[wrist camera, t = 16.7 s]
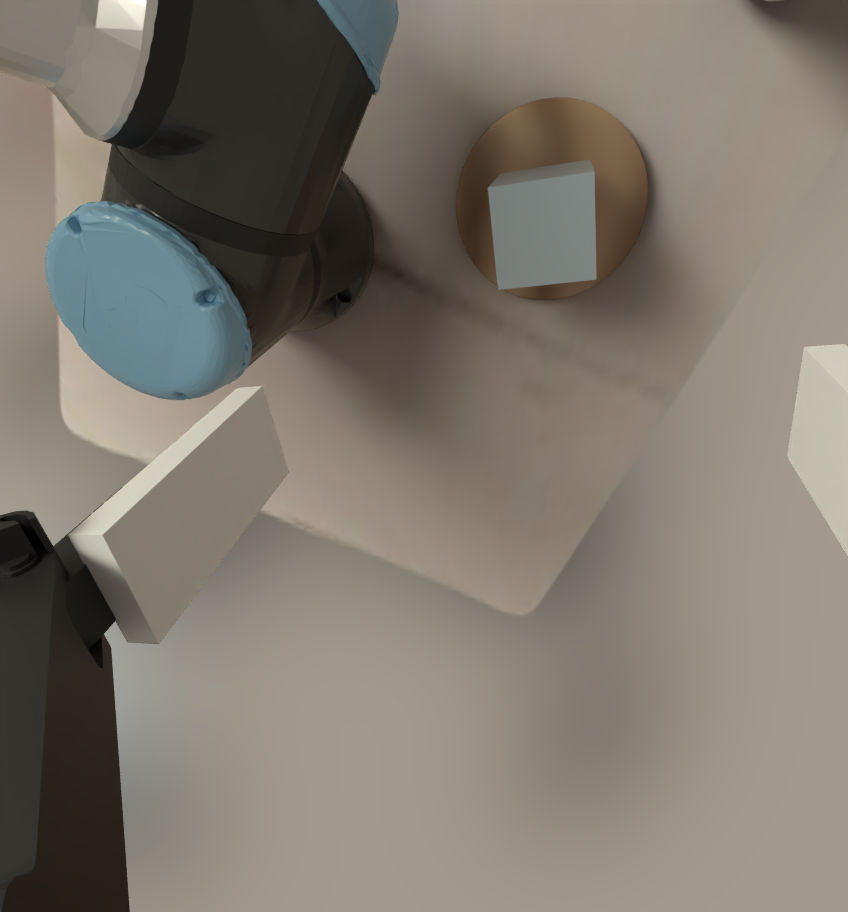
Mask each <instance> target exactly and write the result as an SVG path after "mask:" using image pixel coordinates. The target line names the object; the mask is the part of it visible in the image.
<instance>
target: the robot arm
mask: <svg viewBox="0 0 848 912" xmlns="http://www.w3.org/2000/svg"><path fill="white" fill-rule="evenodd" d="M397 22H398V7H397V1H396V0H0V73H4V74H6V75H10V76H13V77H16V78H19V79H23V80H26V81H29V82H32V83H35V84H38V85H42V86H45V87H46V88H47V89H48V90H49V91H51V92H52V93H53V94H54V95H55V96H56V97H57V99H58V100H59V101H60V102H61V104H62V105H63V106H64V108H65V109H66V110H67V112H68V113H69V114H70V116H71V117H72V118H73V120H74V121H75V122H76V124H77V125H78V126H79V128H80V129H81V130H82V131H83V132H84V134H85V135H87V136H89V137H92V138H94V139H96V140H99V141H103V142H107V143H111V144H112V146H111V152H110V157H109V163H108V168H107V173H106V178H105V183H104V189H103V194H102V198H101V201H100V202H90V203H87V204H84V205H82V206H79V207H78V208H77V209H76V210H75V211H74V212H72V213H71V214H70V215H69V216H68V217H66V218H65V219H63V220H62V221H61V222H60V223H59V224H58V226H57V227H56V228H55V230H54V232H53V234H52V236H51V238H50V240H49V243H48V246H47V251H46V258H45V267H46V278H47V283H48V287H49V291H50V295H51V298H52V300H53V303H54V305H55V308H56V310H57V312H58V314H59V316H60V318H61V320H62V322H63V323H64V325H65V326H66V327H67V328H68V329H69V330H70V331H71V332H72V333H73V335H74V336H75V338H76V340H77V342H78V344H79V346H80V347H81V348H82V349H83V351H84V352H85V353H86V354H87V355H88V356H89V357H90V358H91V359H92V360H93V361H94V362H95V363H96V364H97V365H99V366H100V367H101V368H102V369H103V370H105V371H106V372H107V373H108V374H110V375H111V376H113V377H114V378H116V379H117V380H119V381H120V382H122V383H124V384H126V385H127V386H129V387H131V388H133V389H135V390H137V391H140V392H142V393H145V394H148V395H151V396H154V397H158V398H163V399H169V400H185V399H192V398H199V397H202V396H205V395H208V394H210V393H212V392H214V391H215V390H217V389H219V388H221V387H222V386H224V385H226V384H229V383H231V382H232V381H234V380H236V379H237V378H238V377H240V376H241V375H242V374H243V372H244V370H245V369H246V368H247V367H248V366H250V365H251V364H252V363H253V362H254V361H256V360H257V359H258V358H259V357H260V356H261V355H263V354H264V353H265V352H266V351H267V350H268V349H270V348H271V347H272V346H273V345H274V344H275V343H277V342H278V341H279V340H280V339H281V338H282V337H284V336H285V335H286V334H287V333H288V332H290V331H302V330H310V329H315V328H318V327H321V326H324V325H326V324H328V323H330V322H332V321H334V320H335V319H337V318H339V317H340V316H341V315H342V314H344V313H345V312H346V311H347V310H348V309H349V308H350V307H351V306H352V305H353V304H354V303H355V302H356V301H357V299H358V298H359V297H360V295H361V294H362V292H363V290H364V289H365V287H366V284H367V282H368V280H369V277H370V274H371V270H372V265H373V258H374V238H373V230H372V225H371V221H370V218H369V214H368V212H367V209H366V206H365V204H364V202H363V200H362V198H361V196H360V194H359V192H358V191H357V189H356V188H355V186H354V185H353V183H352V182H351V181H350V179H349V178H348V177H347V176H346V175H345V173H344V172H343V171H342V169H343V167H344V164H345V162H346V159H347V157H348V154H349V152H350V149H351V146H352V144H353V141H354V139H355V136H356V134H357V131H358V129H359V126H360V124H361V121H362V119H363V116H364V114H365V111H366V109H367V106H368V104H369V101H370V99H371V96H372V95H376V94H377V93H378V91H379V88H380V74H381V71H382V68H383V65H384V62H385V60H386V57H387V54H388V51H389V48H390V45H391V43H392V40H393V37H394V34H395V31H396V28H397ZM787 457H788V459H789V461H790V462H791V464H792V465H793V467H794V469H795V470H796V472H797V474H798V475H799V477H800V479H801V480H802V482H803V484H804V485H805V487H806V489H807V490H808V492H809V493H810V495H811V496H812V498H813V500H814V502H815V503H816V505H817V507H818V508H819V510H820V512H821V513H822V515H823V516H824V518H825V520H826V521H827V523H828V525H829V526H830V528H831V530H832V531H833V533H834V534H835V536H836V538H837V539H838V541H839V543H840V544H841V546H842V548H843V549H844V551H845V552H846V554H847V556H848V347H847V346H846V345H845V344H839V345H825V346H811V347H804V351H803V357H802V364H801V370H800V377H799V383H798V390H797V397H796V403H795V409H794V416H793V422H792V429H791V435H790V441H789V448H788V454H787ZM288 473H289V470H288V467H287V464H286V461H285V457H284V454H283V451H282V448H281V445H280V441H279V438H278V435H277V432H276V429H275V425H274V422H273V419H272V416H271V413H270V410H269V406H268V403H267V400H266V397H265V394H264V390H263V387H262V386H256V387H242V388H237V389H235V390H234V391H233V392H232V393H231V394H230V395H229V396H227V397H226V398H225V399H224V400H223V401H222V402H220V403H219V404H218V405H217V406H216V407H215V408H214V409H212V410H211V411H210V412H209V413H208V414H207V415H206V416H204V417H203V418H202V419H201V420H200V421H199V422H197V423H196V424H195V425H194V426H193V427H192V428H191V429H189V430H188V431H187V432H186V433H185V434H184V435H182V436H181V437H180V438H179V439H178V440H177V441H176V442H174V443H173V444H172V445H171V446H170V447H169V448H167V449H166V450H165V451H164V452H163V453H162V454H161V455H159V456H158V457H157V458H156V459H155V460H154V461H152V462H151V463H150V464H149V465H148V466H147V467H146V468H144V469H143V470H142V471H141V472H140V473H139V474H137V476H135V477H134V478H133V479H132V480H131V481H129V482H128V483H127V484H126V485H125V486H123V487H122V488H120V489H119V490H118V491H117V492H116V493H115V494H114V495H112V496H111V497H110V498H109V499H108V500H107V501H106V502H105V503H103V504H102V505H101V506H100V507H98V508H97V509H96V510H95V511H94V513H93V514H90V515H89V516H88V517H87V518H86V519H85V520H83V521H82V522H81V523H80V524H79V525H78V526H76V527H75V528H74V529H73V530H72V531H71V532H69V533H68V534H67V535H66V536H65V537H64V538H63V539H61V540H60V541H59V542H58V543H57V544H56V545H55V546H53V545H52V544H51V542H50V540H49V538H48V537H47V535H46V533H45V532H44V530H43V528H42V526H41V524H40V523H39V521H38V519H37V518H36V516H35V514H34V513H33V512H29V511H16V512H11V513H8V514H4V515H0V912H129V897H128V882H127V868H126V853H125V839H124V825H123V811H122V797H121V782H120V768H119V754H118V740H117V725H116V711H115V697H114V682H113V668H112V654H111V647H110V645H109V643H108V641H107V639H106V637H105V636H104V633H105V632H106V631H107V630H108V629H109V627H110V626H111V625H112V624H113V623H114V622H115V621H116V623H117V625H118V626H119V628H120V630H121V632H122V634H123V635H124V637H125V639H126V641H127V642H130V643H148V644H149V643H150V644H159V643H160V642H161V641H162V639H163V638H164V637H165V636H166V634H167V633H168V631H169V630H170V629H171V628H172V626H173V625H174V624H175V622H176V621H177V620H178V618H179V617H180V616H181V614H182V613H183V612H184V610H185V609H186V608H187V606H188V605H189V604H190V602H191V601H192V600H193V598H194V597H195V596H196V594H197V593H198V592H199V590H200V589H201V588H202V587H203V585H204V584H205V583H206V581H207V580H208V579H209V577H210V576H211V575H212V573H213V572H214V571H215V569H216V568H217V567H218V565H219V564H220V563H221V561H222V560H223V559H224V557H225V556H226V555H227V553H228V552H229V551H230V549H231V548H232V547H233V545H234V544H235V543H236V541H237V540H238V539H239V537H240V536H241V535H242V533H243V532H244V531H245V530H246V528H247V527H248V526H249V524H250V523H251V522H252V520H253V519H254V518H255V516H256V515H257V514H258V512H259V511H260V510H261V508H262V507H263V506H264V504H265V503H266V502H267V500H268V499H269V498H270V496H271V495H272V494H273V492H274V491H275V490H276V488H277V487H278V486H279V484H280V483H281V482H282V480H283V479H284V478H285V476H286V475H287V474H288Z"/></svg>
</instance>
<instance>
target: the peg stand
mask: <svg viewBox="0 0 848 912" xmlns="http://www.w3.org/2000/svg"><path fill="white" fill-rule="evenodd" d="M583 160H591V163H592V166H593V169H594V172H595V224H596V277H597V279H596V280H587V281H578V282H568V283H559V284H549V285H540V286H530V287H521V288H512V289H504V290H506V291H508V292H510V293H512V294H515V295H518V296H521V297H525V298H530V299H539V300H550V299H559V298H565V297H569V296H572V295H575V294H578V293H581V292H583V291H585V290H587V289H589V288H591V287H593V286H594V285H596V284H598V283H599V282H601V281H602V280H603V279H605V278H606V277H607V276H609V275H610V274H611V273H612V272H613V271H614V270H615V269H616V268H617V267H618V266H619V265H620V264H621V262H622V261H623V260H624V259H625V258H626V256H627V255H628V253H629V252H630V250H631V249H632V247H633V245H634V244H635V242H636V239H637V237H638V235H639V233H640V231H641V228H642V225H643V222H644V218H645V214H646V209H647V201H648V179H647V173H646V168H645V164H644V161H643V158H642V155H641V152H640V150H639V148H638V146H637V144H636V142H635V140H634V139H633V137H632V136H631V134H630V133H629V131H628V130H627V129H626V128H625V127H624V126H623V125H622V124H621V122H620V121H619V120H618V119H616V118H615V117H614V116H612V115H611V114H610V113H609V112H607V111H605V110H604V109H602V108H600V107H598V106H596V105H594V104H591V103H588V102H585V101H582V100H577V99H572V98H548V99H541V100H537V101H534V102H530V103H527V104H525V105H523V106H520V107H518V108H516V109H514V110H512V111H511V112H509V113H507V114H506V115H504V116H503V117H501V118H500V119H499V120H498V121H496V122H495V123H494V124H493V125H492V126H491V127H490V128H489V129H488V130H487V131H486V132H485V133H484V134H483V135H482V137H481V138H480V139H479V140H478V142H477V143H476V144H475V146H474V148H473V149H472V151H471V153H470V155H469V156H468V159H467V161H466V163H465V165H464V168H463V171H462V174H461V177H460V180H459V185H458V191H457V202H456V211H457V222H458V227H459V232H460V235H461V239H462V242H463V244H464V246H465V249H466V251H467V253H468V255H469V256H470V258H471V260H472V261H473V263H474V264H475V265H476V267H477V268H478V269H479V270H480V271H481V273H482V274H483V275H484V276H486V277H487V278H488V279H489V280H490V281H491V282H493V283H494V284H496V285H497V275H496V265H495V255H494V245H493V235H492V225H491V214H490V204H489V194H488V187H489V186H490V185H491V184H492V183H493V182H494V180H495V179H496V178H497V177H498V176H499V175H500V174H501V173H507V172H513V171H519V170H526V169H532V168H539V167H545V166H551V165H558V164H564V163H571V162H577V161H583ZM497 286H498V285H497Z"/></svg>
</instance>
